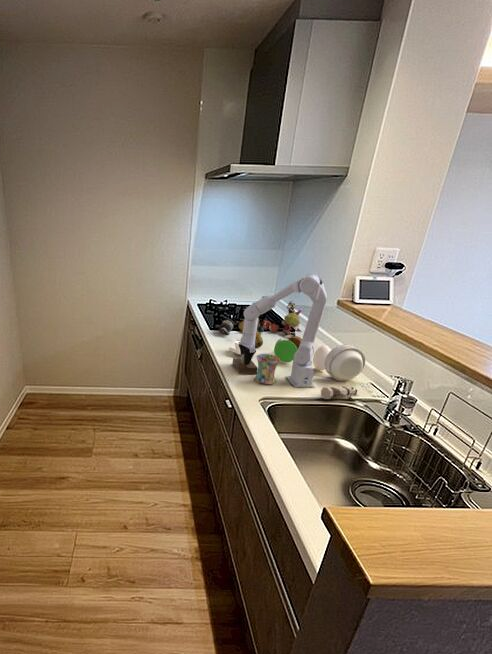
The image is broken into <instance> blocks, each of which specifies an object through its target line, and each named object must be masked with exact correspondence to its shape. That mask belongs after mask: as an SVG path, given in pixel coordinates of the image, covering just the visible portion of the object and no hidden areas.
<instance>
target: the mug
mask: <svg viewBox="0 0 492 654" xmlns="http://www.w3.org/2000/svg"><path fill="white" fill-rule="evenodd" d="M256 360H257V368H258V370H257V374H255V376H254V377H253V378H254V380H255V381H256V382H257V383H259V384H262V385H263V384H264V385H273V384H274V383H276V378H275V374H276V373H275V371H276V368H277V366H278V365H279V363H280V362H281V361H280V358H279V357H277V356H275V354H270V353H259V354H257V355H256Z"/></svg>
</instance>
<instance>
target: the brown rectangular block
mask: <svg viewBox="0 0 492 654" xmlns="http://www.w3.org/2000/svg"><path fill="white" fill-rule="evenodd" d="M232 366H233V368H234V369H235V371H236V372H237V374H238V375H256V374H257V371H258V365H256V364H255V362H254V361H253V360H252V359H251V361H250V364H247V365H245V364H242V363H241V357H240V358H235V357H233V358H232Z"/></svg>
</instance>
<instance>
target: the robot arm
mask: <svg viewBox="0 0 492 654" xmlns="http://www.w3.org/2000/svg"><path fill="white" fill-rule="evenodd" d="M301 292H302V293H303V294H304V295H306V296H307V297H309V299H310V300H311V301H312V305H311V307H310V311H309V314H308V319H307V322H306V325H305V328H304V331H303V335H302V338H301V339H302V341H301V344H300V346H299V348H298V350H297V351H296V353H295V354H294V360H292V361H293V362H292V367H291V371H290V375H286V376H285V378H286V379H287V380H288V381H289V382H290V384H292V386H293V387H295V388H313V387H314V385H313V380H314V376H315V372H314V371H315V370H314V369H313V367H312V365H313V360H312V358H313V357H312V356H314V354H315V348H314V345H315V341H316V337H317V334H318V332H319V331H318V330H319V328H320V324H321V321H322V318H323V315H324V312H325V309H326V308H325V307H326V306H327V302H328V295H327V291H326V288H325V284H324V281H323V279H322V278H321V277H320V276H319V275H318V274H316V273H309V274H307V275H306V276H305V277H304V276H303V277H301V278H299V279H297V280H295V281H293V282H291V283H290V284H288V285H287V286H285V287H283V288H282V289H280V290H279V291H277V292H276V293H274V294H266V295H265V294H264V295H262V296H261V298H260V299H258V300H257V301H254V302H252V303H251V304H250V305H249V306H247V307H246V308H244V310H243V317H244V319H243V320H244V325H243V332H241V333H242V334H241V336H240V341H241V342H239V347H240V352H241V355H242V354H244V364H250V361H251V360H252V359H253V357H254V356H255V354H256V353H257V349H256V347H255V338H256V331H258V330H257V324H258V323H259V322H258V318H259V317H260V316H261V315H263V314H265V313H267V312H269V311H270V310H272V309H274V308H275V307H276V305H277V302H279V301H281V300H283V299H284V298H286V297H288V296H290V295H291V294H293V293H294V294H300V293H301ZM241 355H240V356H241Z"/></svg>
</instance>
